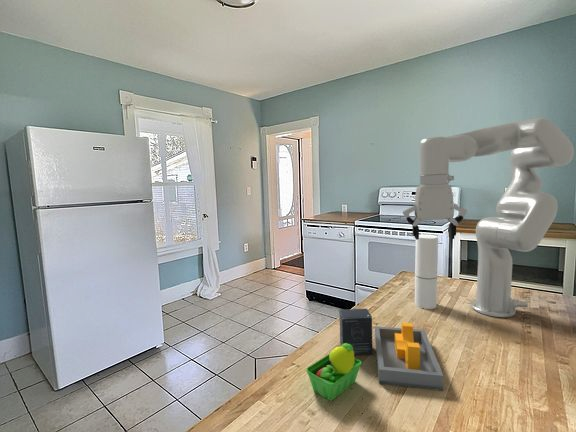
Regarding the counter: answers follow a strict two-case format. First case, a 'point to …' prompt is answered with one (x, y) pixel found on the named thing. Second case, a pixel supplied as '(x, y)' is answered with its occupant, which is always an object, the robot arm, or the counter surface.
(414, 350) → the orange toy block
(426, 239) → the cylindrical container
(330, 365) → the fruit basket
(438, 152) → the robot arm
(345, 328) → the box
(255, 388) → the counter surface
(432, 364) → the tray
